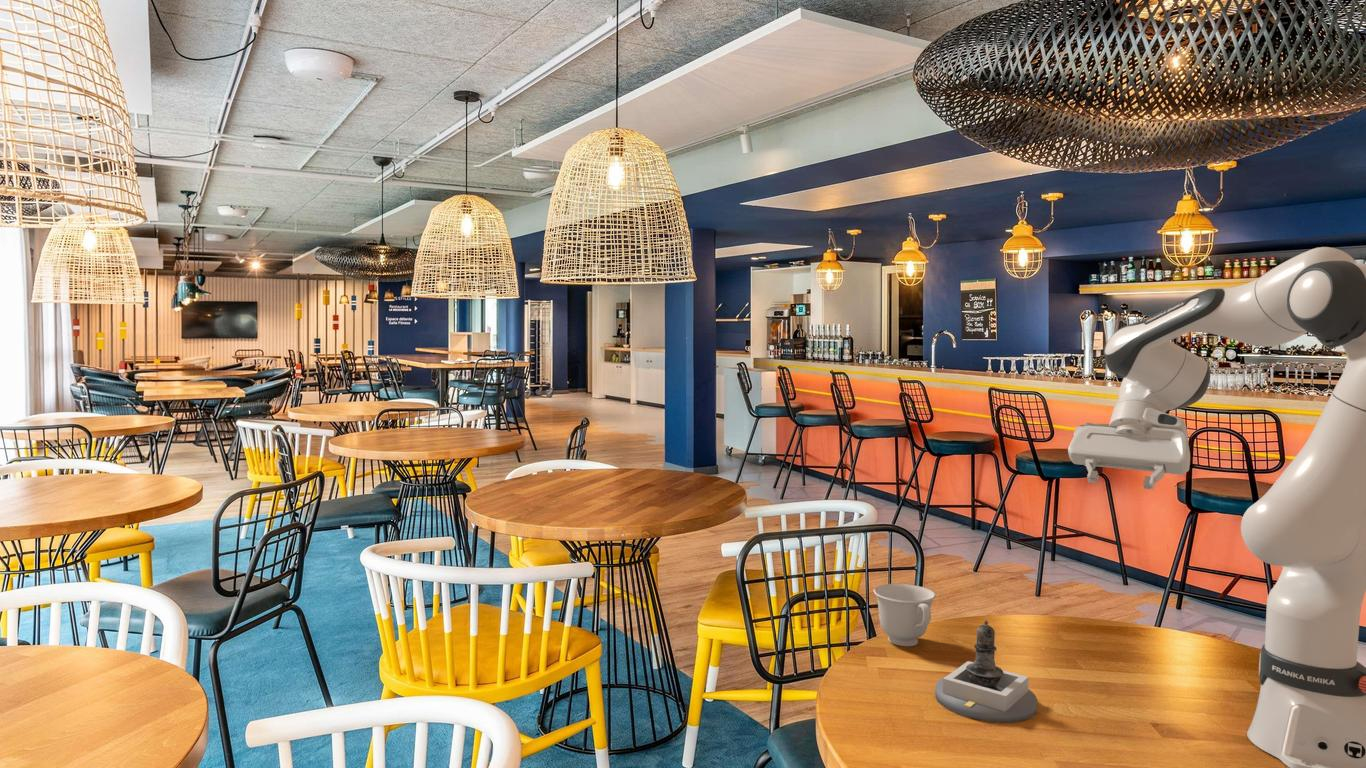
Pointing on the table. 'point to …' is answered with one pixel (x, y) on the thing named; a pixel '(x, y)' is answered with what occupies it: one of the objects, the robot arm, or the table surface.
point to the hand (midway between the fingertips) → (1119, 483)
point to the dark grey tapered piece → (985, 660)
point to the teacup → (904, 612)
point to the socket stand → (987, 697)
